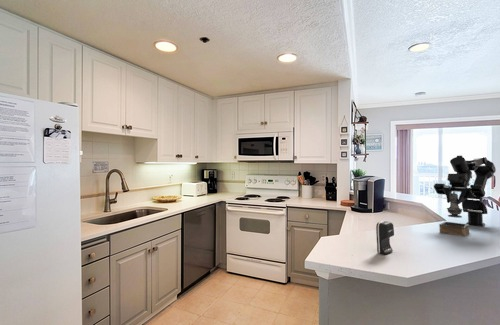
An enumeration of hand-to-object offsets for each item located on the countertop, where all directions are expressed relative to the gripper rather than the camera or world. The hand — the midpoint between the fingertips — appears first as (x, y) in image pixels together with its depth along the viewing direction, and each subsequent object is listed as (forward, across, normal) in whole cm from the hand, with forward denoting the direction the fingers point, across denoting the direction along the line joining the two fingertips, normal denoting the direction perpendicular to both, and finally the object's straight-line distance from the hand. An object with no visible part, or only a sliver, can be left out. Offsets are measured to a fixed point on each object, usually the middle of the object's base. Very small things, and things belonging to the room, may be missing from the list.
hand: (452, 202), depth 116 cm
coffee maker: (+47, -1, -27) cm, 54 cm away
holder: (+10, 0, +9) cm, 14 cm away
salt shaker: (+4, 0, +6) cm, 7 cm away
